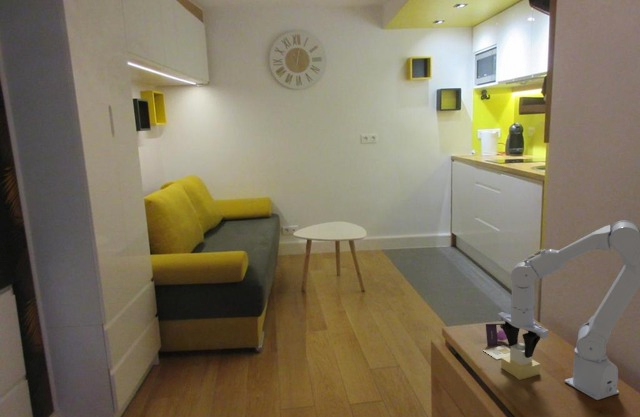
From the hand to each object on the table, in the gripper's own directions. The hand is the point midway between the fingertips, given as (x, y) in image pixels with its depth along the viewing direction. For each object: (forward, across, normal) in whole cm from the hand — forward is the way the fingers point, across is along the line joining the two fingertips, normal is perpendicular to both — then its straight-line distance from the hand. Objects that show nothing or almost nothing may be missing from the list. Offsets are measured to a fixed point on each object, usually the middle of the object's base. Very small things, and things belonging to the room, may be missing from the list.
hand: (520, 352), depth 125 cm
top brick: (+2, 0, 0) cm, 2 cm away
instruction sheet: (+5, +10, -4) cm, 12 cm away
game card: (+6, +15, -9) cm, 18 cm away
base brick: (+5, 0, 0) cm, 5 cm away
